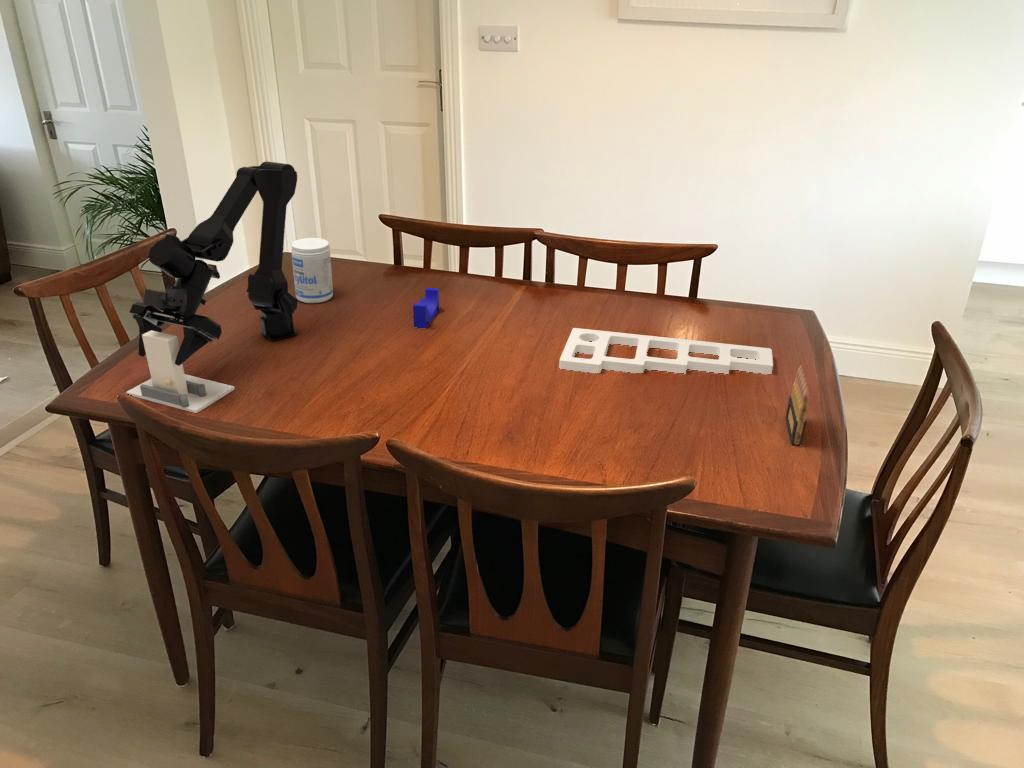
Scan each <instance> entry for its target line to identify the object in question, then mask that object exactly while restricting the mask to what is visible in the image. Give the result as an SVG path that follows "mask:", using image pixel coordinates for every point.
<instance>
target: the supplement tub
mask: <svg viewBox="0 0 1024 768" xmlns="http://www.w3.org/2000/svg"><path fill="white" fill-rule="evenodd" d="M290 253H291V263H292V272H293V273H292V275H293V280H294V281H293V283H294V291H295V293H294V294H295V298H296V299H297V300H298V301H300V302H301V303H302V302H303V303H305V304H319V303H324V302H327V301H329V300H331V299H332V298H333V295H334V287H333V275H332V273H333V272H332V259H331V249H330V242H329V241H328V240H327V239H324V238H319V237H305V238H299V239H297V240H294V241H293V242H292V243H291V252H290Z"/></svg>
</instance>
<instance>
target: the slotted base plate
mask: <svg viewBox="0 0 1024 768" xmlns="http://www.w3.org/2000/svg"><path fill="white" fill-rule="evenodd" d="M184 375H185V380H186V385H187V390H188V396H187V395H186V394H183V395H182V394H179V393H175V392H171V391H167V390H163V389H159V388H156V387H153V383H152V379H151V378H149V379H148V380H145V381H144V382H142V383H140V384H138V385H136V386H134V387H132V389H129V390H127V391H126V392H125V393H126V395H127V394H129V395H128V396H130V395H132V396H131V397H135V398H137V399H142V400H146V401H150V402H153V403H157V404H160V405H163V406H168V407H172V408H175V409H179V410H183V411H186V412H190V413H194V414H197V413H199V412H201V411H203V410H204V409H205V408H207V407H209V406H210V405H212V404H214V403H215V402H217V401H219V400H220V399H221V398H223V397H225V396H226V395H228V394H229V393H231V392H233V391H234V390H235V386H233V385H230V384H225V383H221V382H218V381H214V380H209V379H205V378H201V377H198V376H194V375H189V374H187V373H186V374H185V373H184Z"/></svg>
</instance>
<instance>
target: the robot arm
mask: <svg viewBox="0 0 1024 768" xmlns="http://www.w3.org/2000/svg"><path fill="white" fill-rule="evenodd" d="M235 174H236V175H235V178H234V179H233V181H232V184H230V186H229V187H228V189H227V191H226V193H225V194H224V196H223V197H222V199H221V200H220V202H219V203H218V205H217V206H216V208H215V210H214V212H213V213H212V214H211V215H210V216H209V217H208V218H207V219H205V220H203V221H201V222H199V223H198V224H197V226H195V228H194V229H193V230H192V231H191V232H190V233H189V235H188V237H186V238H185V239H183V240H181V239H180V238H179V237H178V236H176V235H175V234H171V233H167V234H165V237H164V238H163V239H160V240H159V241H157V242H156V243H155V244H153V246H151V248H150V249H149V252H148V260H149V261H150V263H151V264H152V265H153V266H155V267H156V268H158V269H160V270H161V271H162V272H164V273H165V274H166V275H168V276H170V277H171V278H172V279H176V281H175V283H174V284H173V285H171V284H169V285H167V287H166V289H165V290H159V289H154V288H153V289H151V288H144V291H143V298H142V302H141V301H136V302H135V303H133V304H131V307H130V309H129V312H128V313H129V314H130V315H132V319H133V321H136V324H137V326H138V334H139V335H138V336H139V337H138V338H139V339H138V353H137V354H138V356H140V357H142V358H143V357H145V356H146V352H145V347H144V343H143V338H142V335H143V334H145V333H147V332H149V331H151V330H152V331H156V332H161V333H162V332H163V330H164V329H163V328H161V327H162V326H164V325H165V324H170V325H175V326H178V327H182V329H183V331H182V332H183V339H182V342H181V344H180V345H179V351H178V354H177V357H176V360H175V364H176V365H178V366H180V365H181V364H182V365H183V363H184V362H186V361H187V360H188V359H189V358H190V357H192V356H193V355H194V354H195V353H196V352H197V351H199V350H200V349H201V348H203V347H204V346H205V345H207V344H208V343H210V344H211V343H213V340H216V341H218V340H220V337H221V334H222V333H223V332H222V325H221V324H219V323H218V322H216V321H214V320H213V319H211V318H210V317H208V316H205V315H201V314H196V313H197V312H198V310H199V307H200V306H205V305H206V303H207V300H205V298H204V295H205V293H206V290H207V288H208V286H209V284H210V282H211V279H217V280H219V279H220V278H221V275H220V272H219V270H218V267H217V265H216V264H211V263H207V262H206V261H205V260H207V261H210V262H211V261H212V262H223V261H225V260H226V258H227V257H228V255H229V253H230V251H231V248H232V246H233V244H234V231H235V228H236V227H237V225H238V223H239V221H241V218H242V216H243V215H244V214H245V211H246V210H247V208H248V207H249V206H250V204H251V202H252V200H253V199H254V197H255V195H256V194H257V192H258V194H259V195H260V198H261V200H262V216H261V217H262V219H261V229H260V230H261V231H260V244H259V259H258V267H257V268H256V270H255V272H254V273H253V274H251V273H249V274H248V277H247V289H246V293H247V295H248V296H247V297H248V301H250V302H251V304H252V306H253V308H254V310H255V311H260V315H261V316H259V322H260V329H261V330H260V333H261V334H262V335H263V336H265V337H266V338H267V339H269V340H270V341H272V342H274V341H279V340H283V339H286V338H291V337H294V336H296V335H297V336H298V332H297V331H296V330H295V327H294V318H293V314H294V313H295V311H296V310H297V309H298V303H299V302H298V301H299V300H298V299H297V298H296V297H295V296H293V295H292V294H291V293H289V287H288V285H289V284H288V280H287V278H286V276H285V274H284V272H283V254H284V253H283V252H284V244H285V243H284V242H285V231H286V230H285V229H286V218H287V217H286V216H287V205H288V204H289V203H290V202H291V200H292V198H293V197H294V196H295V193H296V189H297V183H298V172H297V171H296V170H295V168H294V166H293V165H291V164H290V163H284V162H283V163H281V162H274V161H267V160H266V161H263V162H261V164H260V165H252V166H251V165H249V166H243V167H240V168H238V169H237V170H236V173H235ZM196 258H197V259H196Z"/></svg>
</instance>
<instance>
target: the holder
mask: <svg viewBox="0 0 1024 768" xmlns="http://www.w3.org/2000/svg"><path fill="white" fill-rule="evenodd" d="M589 341H592V342H589ZM609 344H611V345H613V344H621V345H620V346H623V345H629V346H628V347H632V346H637V347H636V351H635V357H634V358H625V357H624V358H623V357H616V356H615V357H614V356H607V354H608V349H609V347H608V346H610V345H609ZM649 348H660V349H669V350H676V351H678V352H677V357H676V358H675V359H672V358H664V357H663V358H662V357H655V356H648V353H647V352H648V351H649V350H650V349H649ZM676 351H675V352H676ZM577 352H579V353H577ZM689 352H695V353H694V354H696V353H704V354H703V355H705V354H713V355H712V356H714V355H718V356H719V357H718V356H717V357H718V358H717V359H715V358H714V359H712V358H705V357H704V358H703V357H695V356H690V355H689V354H690V353H689ZM575 353H576V354H582V353H584V354H583V355H592V354H593V355H592V357H591V358H582V357H575V356H576V354H575ZM688 353H689V354H688ZM737 357H742V358H737ZM746 358H748V359H746ZM755 359H756V360H755ZM558 362H559V363H558V365H559V366H558V369H559V368H560V369H559V370H561V369H566V370H565V371H569V370H573V371H572V372H578V371H581V372H580V373H587V372H589V373H588V374H595V373H596V375H597V373H600V374H601V373H602V372H601V371H603V370H602V369H605V370H604V371H610V370H614V371H613V372H619V371H622V372H621V373H627V372H630V373H629V374H636V373H643V374H644V372H645V371H651V370H658V371H657V372H659V371H667V372H666V373H668V372H674V373H673V374H677V373H684V374H683V375H687V371H688V370H687V369H690V370H689V371H691V370H698V371H697V372H700V371H706V372H705V373H709V372H714V373H713V374H718V373H724V374H723V375H726V374H728V375H729V374H730V371H731V370H739V371H738V372H740V371H746V372H745V373H749V372H753V373H752V374H758V373H761V374H760V375H767V374H771V375H772V374H773V368H774V359H773V351H772V348H769V347H759V346H751V345H740V344H732V343H722V342H712V341H704V340H703V341H702V340H694V339H685V338H684V339H683V338H676V337H675V338H674V337H667V336H666V337H665V336H664V337H662V336H655V335H645V334H636V333H626V332H617V331H616V332H615V331H609V330H598V329H597V330H596V329H588V328H578V327H572V330H571V332H570V334H569V336H568V339H567V342H566V343H565V346H564V348H563V350H562V352H561V355H560V357H559V361H558ZM645 369H647V370H645ZM686 370H687V371H686ZM729 370H730V371H729Z"/></svg>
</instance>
